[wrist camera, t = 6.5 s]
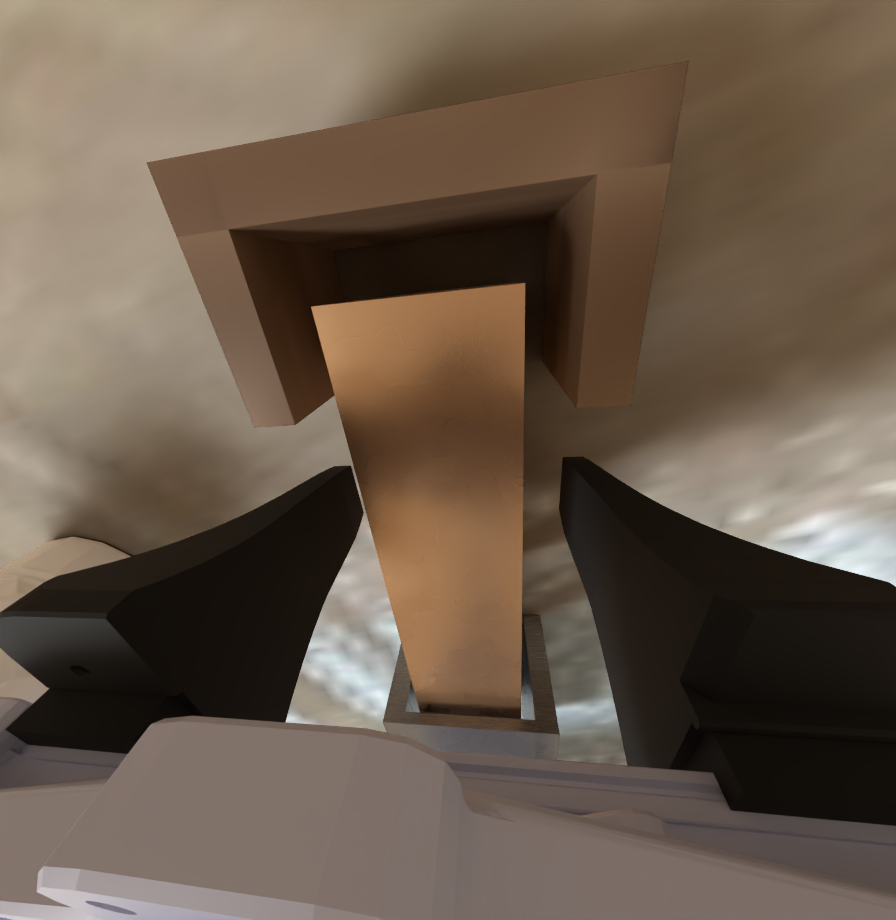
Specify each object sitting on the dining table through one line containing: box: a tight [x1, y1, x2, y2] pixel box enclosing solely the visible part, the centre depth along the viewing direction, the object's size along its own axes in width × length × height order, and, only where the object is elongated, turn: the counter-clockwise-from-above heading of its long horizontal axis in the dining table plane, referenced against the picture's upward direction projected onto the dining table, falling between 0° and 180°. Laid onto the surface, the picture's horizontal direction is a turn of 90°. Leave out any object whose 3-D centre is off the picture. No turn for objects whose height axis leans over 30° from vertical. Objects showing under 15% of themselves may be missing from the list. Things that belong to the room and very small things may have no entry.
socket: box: [147, 61, 689, 427], centre depth 8 cm, size 5×8×4 cm, turn 96°
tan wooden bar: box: [311, 282, 525, 719], centre depth 11 cm, size 16×4×4 cm, turn 6°
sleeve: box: [383, 615, 560, 760], centre depth 16 cm, size 9×7×5 cm
